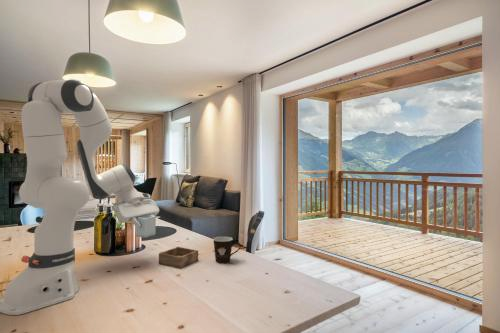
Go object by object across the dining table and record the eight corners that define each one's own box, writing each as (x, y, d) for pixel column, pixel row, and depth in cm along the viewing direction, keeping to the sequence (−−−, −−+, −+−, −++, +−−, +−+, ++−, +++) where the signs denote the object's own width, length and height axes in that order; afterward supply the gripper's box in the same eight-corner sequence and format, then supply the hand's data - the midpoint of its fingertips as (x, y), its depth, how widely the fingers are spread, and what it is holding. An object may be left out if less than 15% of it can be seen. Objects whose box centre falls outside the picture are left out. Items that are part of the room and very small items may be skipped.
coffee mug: (209, 262, 136) (209, 239, 136) (220, 257, 144) (220, 235, 144) (231, 266, 131) (232, 243, 130) (241, 261, 138) (241, 238, 138)
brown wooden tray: (180, 268, 128) (180, 257, 128) (158, 263, 133) (158, 253, 133) (198, 260, 138) (198, 250, 138) (177, 256, 144) (177, 246, 144)
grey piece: (144, 237, 127) (144, 218, 127) (136, 236, 130) (136, 217, 129) (155, 234, 133) (155, 216, 132) (147, 233, 135) (147, 215, 135)
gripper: (114, 198, 125) (131, 225, 120) (152, 193, 143) (167, 216, 139) (106, 208, 127) (123, 235, 123) (145, 202, 145) (160, 225, 141)
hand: (147, 225), depth 131 cm, fingers closed on grey piece, 6 cm apart
